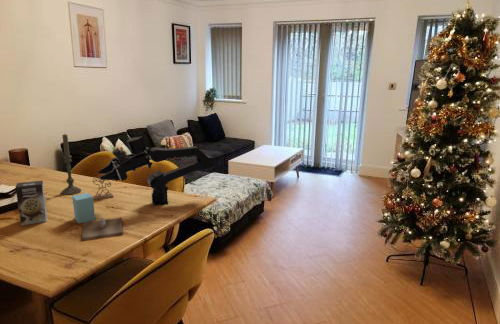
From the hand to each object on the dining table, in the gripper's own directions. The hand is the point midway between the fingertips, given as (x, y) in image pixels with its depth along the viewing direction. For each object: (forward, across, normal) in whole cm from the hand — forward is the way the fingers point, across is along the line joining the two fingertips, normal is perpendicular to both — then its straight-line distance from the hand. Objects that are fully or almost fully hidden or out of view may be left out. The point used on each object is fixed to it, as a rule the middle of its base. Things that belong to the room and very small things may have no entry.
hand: (99, 175), depth 150 cm
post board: (+6, +20, +15) cm, 26 cm away
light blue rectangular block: (+12, +6, +14) cm, 19 cm away
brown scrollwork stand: (+3, -18, +17) cm, 25 cm away
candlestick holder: (+16, -34, +13) cm, 39 cm away
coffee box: (+29, -1, +9) cm, 31 cm away
